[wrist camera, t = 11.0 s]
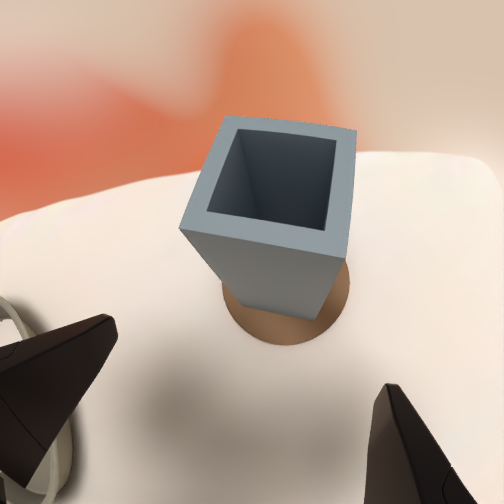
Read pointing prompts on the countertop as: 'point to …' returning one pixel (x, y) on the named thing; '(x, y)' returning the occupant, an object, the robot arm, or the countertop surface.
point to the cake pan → (57, 457)
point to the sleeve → (275, 211)
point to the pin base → (287, 327)
